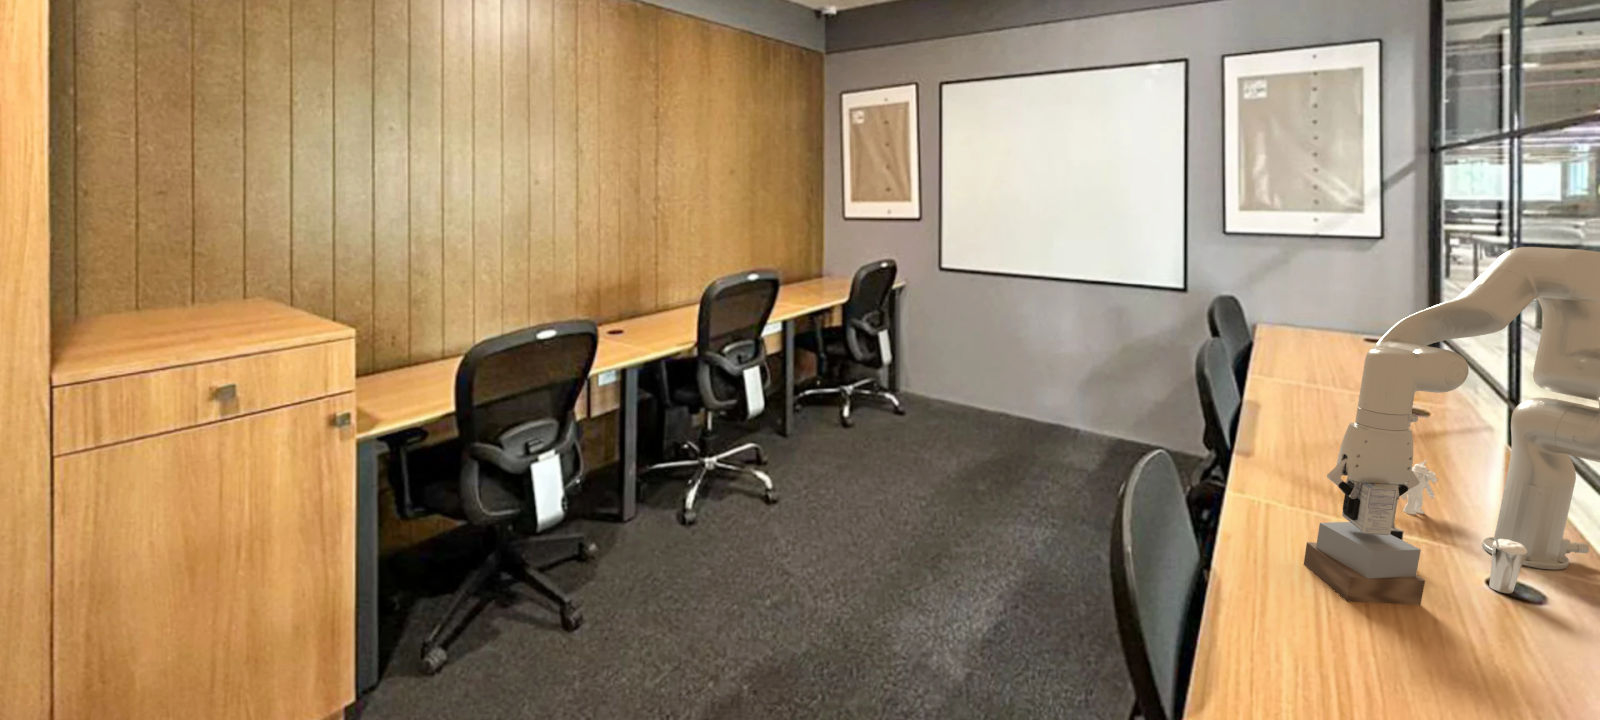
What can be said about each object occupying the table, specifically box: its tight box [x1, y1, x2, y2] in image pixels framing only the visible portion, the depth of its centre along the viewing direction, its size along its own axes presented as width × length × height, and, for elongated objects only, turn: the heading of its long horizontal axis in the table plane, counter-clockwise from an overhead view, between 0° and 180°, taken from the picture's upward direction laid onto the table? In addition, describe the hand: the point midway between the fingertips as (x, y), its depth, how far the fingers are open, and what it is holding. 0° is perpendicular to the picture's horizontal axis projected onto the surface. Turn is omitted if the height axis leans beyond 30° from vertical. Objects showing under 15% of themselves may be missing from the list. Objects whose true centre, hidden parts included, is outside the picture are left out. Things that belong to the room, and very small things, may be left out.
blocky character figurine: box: [1400, 458, 1439, 516], centre depth 174 cm, size 9×4×12 cm, turn 102°
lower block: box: [1302, 541, 1426, 606], centre depth 142 cm, size 12×14×5 cm
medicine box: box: [1341, 483, 1397, 535], centre depth 139 cm, size 8×4×9 cm, turn 168°
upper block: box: [1316, 521, 1421, 578], centre depth 140 cm, size 9×12×5 cm
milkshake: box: [1488, 537, 1527, 594], centre depth 140 cm, size 5×5×10 cm
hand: (1366, 517), depth 139 cm, fingers closed on medicine box, 4 cm apart
